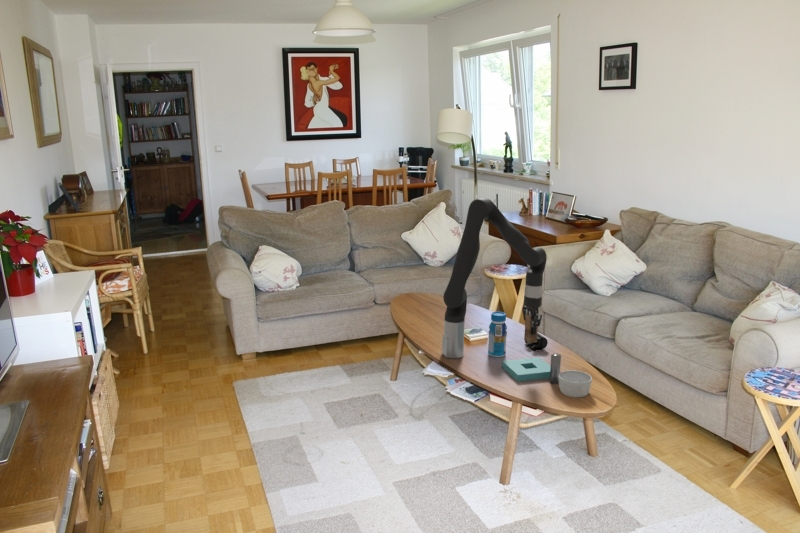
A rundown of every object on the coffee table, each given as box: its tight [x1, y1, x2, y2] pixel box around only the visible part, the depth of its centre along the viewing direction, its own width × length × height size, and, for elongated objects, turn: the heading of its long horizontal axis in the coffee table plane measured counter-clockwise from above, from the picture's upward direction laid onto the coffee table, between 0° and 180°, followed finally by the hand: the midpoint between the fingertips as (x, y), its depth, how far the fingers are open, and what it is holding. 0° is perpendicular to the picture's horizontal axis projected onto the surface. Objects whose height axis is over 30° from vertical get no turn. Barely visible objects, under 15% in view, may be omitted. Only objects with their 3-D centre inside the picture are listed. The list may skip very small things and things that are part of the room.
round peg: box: [549, 353, 562, 385], centre depth 280 cm, size 4×4×12 cm
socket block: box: [501, 356, 551, 382], centre depth 291 cm, size 18×16×3 cm
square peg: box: [523, 314, 539, 343], centre depth 287 cm, size 4×4×12 cm
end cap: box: [524, 332, 549, 352], centre depth 320 cm, size 10×7×7 cm
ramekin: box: [558, 369, 593, 398], centre depth 272 cm, size 13×13×7 cm
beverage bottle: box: [487, 311, 508, 358], centre depth 309 cm, size 8×8×20 cm
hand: (530, 332), depth 287 cm, fingers closed on square peg, 4 cm apart
